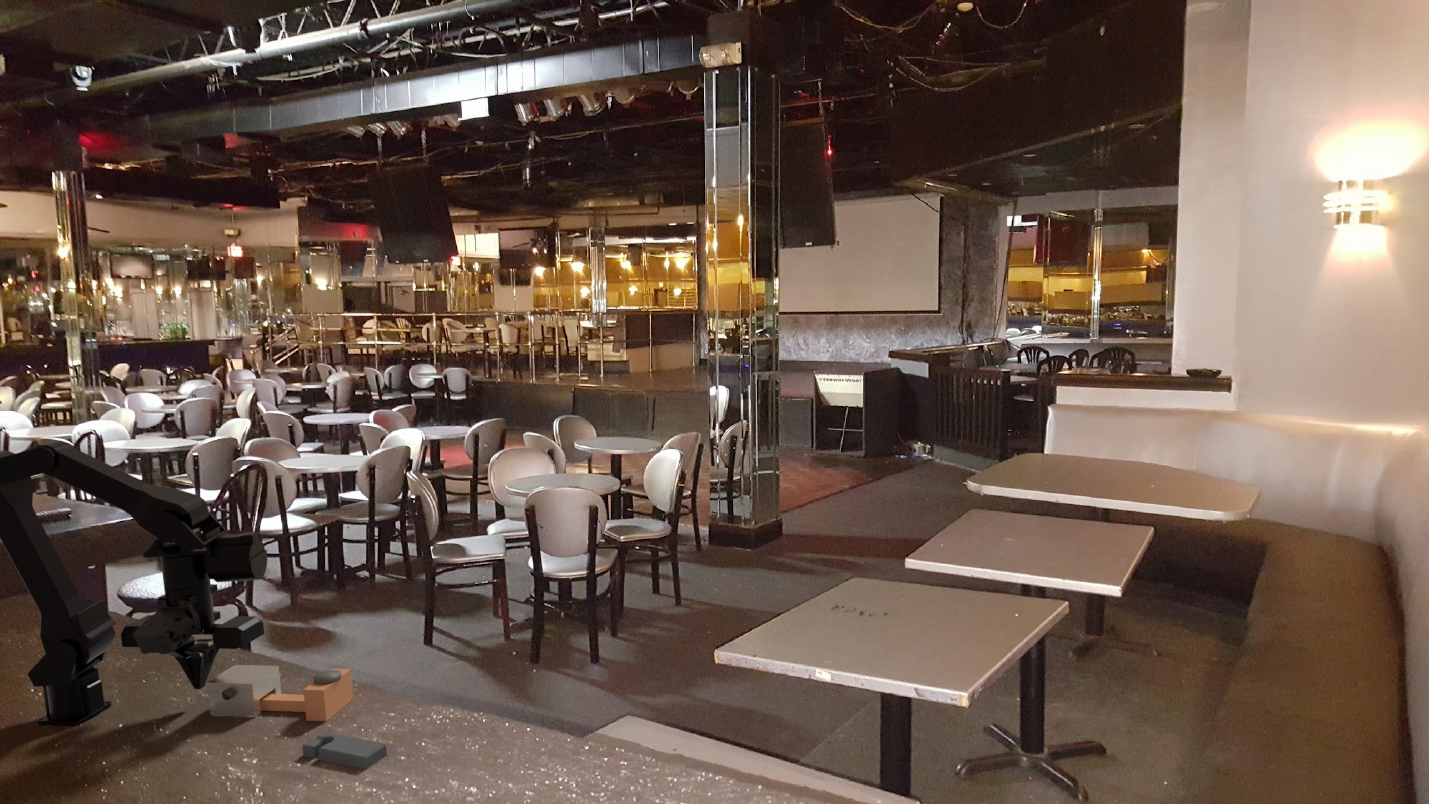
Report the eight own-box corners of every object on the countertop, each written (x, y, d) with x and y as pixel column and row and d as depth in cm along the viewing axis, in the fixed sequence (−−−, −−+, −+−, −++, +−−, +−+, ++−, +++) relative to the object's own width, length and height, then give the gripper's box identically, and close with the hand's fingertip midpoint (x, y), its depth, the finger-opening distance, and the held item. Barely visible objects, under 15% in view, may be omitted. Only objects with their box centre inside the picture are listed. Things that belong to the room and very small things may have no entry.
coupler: (240, 718, 127) (236, 683, 126) (271, 696, 134) (268, 663, 133) (328, 721, 125) (325, 686, 124) (355, 698, 132) (352, 665, 131)
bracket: (365, 773, 112) (364, 757, 111) (302, 759, 116) (300, 744, 115) (388, 757, 115) (387, 742, 115) (325, 745, 119) (324, 730, 119)
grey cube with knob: (206, 719, 127) (202, 685, 127) (238, 697, 134) (234, 664, 133) (252, 720, 126) (248, 686, 126) (281, 698, 133) (278, 666, 132)
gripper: (82, 602, 123) (97, 712, 125) (207, 604, 120) (220, 716, 122) (144, 576, 134) (157, 677, 135) (261, 577, 131) (272, 680, 133)
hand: (199, 688), depth 131 cm, fingers closed
